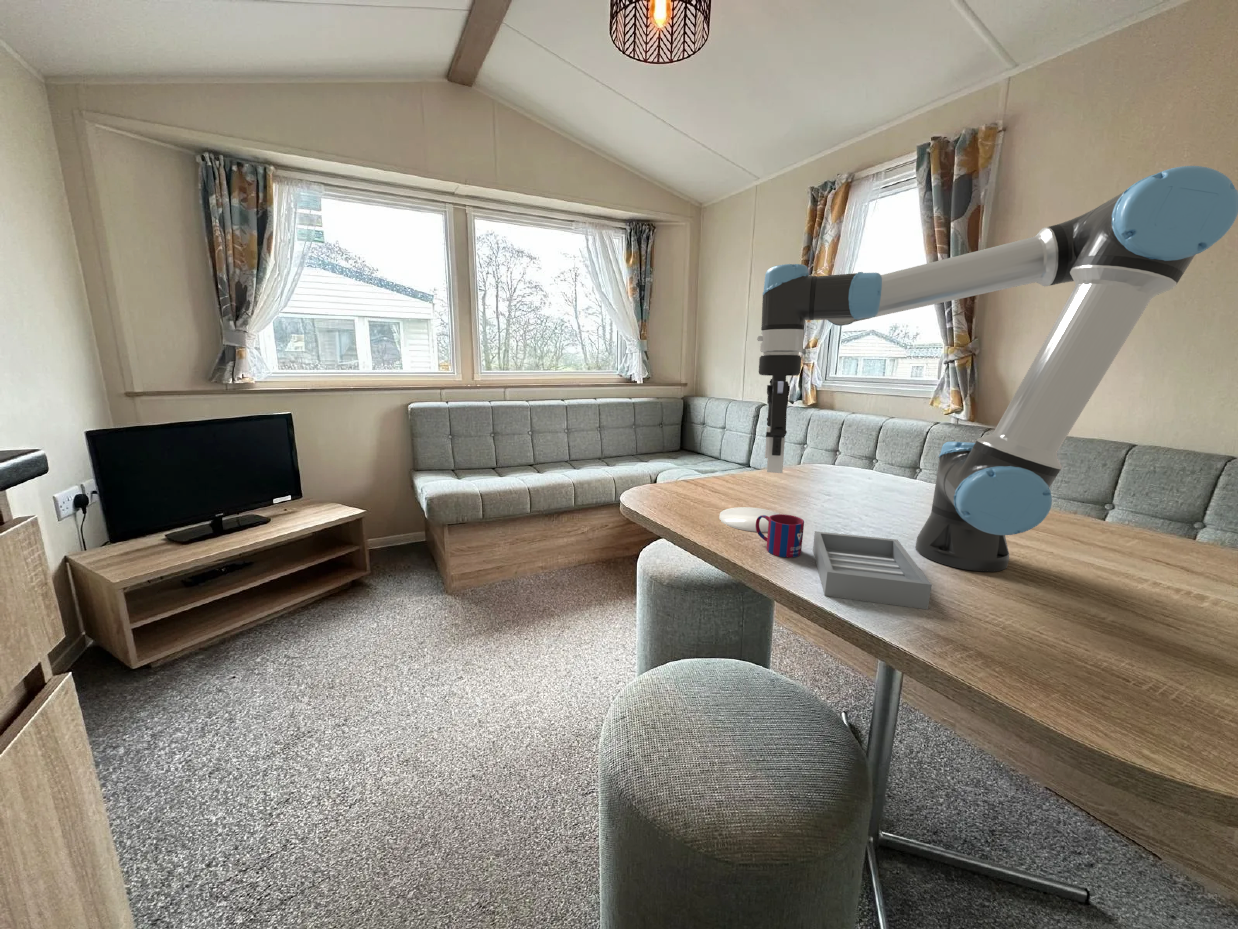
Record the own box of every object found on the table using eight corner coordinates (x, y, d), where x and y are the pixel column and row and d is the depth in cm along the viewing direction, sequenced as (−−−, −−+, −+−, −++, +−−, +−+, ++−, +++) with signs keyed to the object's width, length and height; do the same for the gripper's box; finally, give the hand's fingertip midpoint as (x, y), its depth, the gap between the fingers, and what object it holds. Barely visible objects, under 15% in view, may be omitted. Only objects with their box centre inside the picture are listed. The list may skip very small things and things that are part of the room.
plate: (786, 515, 122) (786, 510, 122) (789, 537, 107) (790, 531, 107) (721, 509, 126) (722, 504, 126) (716, 529, 111) (716, 524, 111)
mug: (787, 560, 93) (790, 527, 92) (746, 544, 101) (749, 513, 100) (808, 553, 97) (811, 521, 96) (767, 538, 105) (770, 508, 104)
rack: (894, 559, 94) (897, 539, 93) (927, 609, 75) (931, 584, 75) (812, 550, 98) (814, 531, 97) (824, 595, 80) (827, 571, 79)
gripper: (758, 354, 103) (753, 452, 108) (760, 353, 80) (753, 478, 84) (795, 354, 101) (788, 454, 106) (809, 352, 78) (799, 480, 82)
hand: (773, 464), depth 95 cm, fingers open, 13 cm apart
